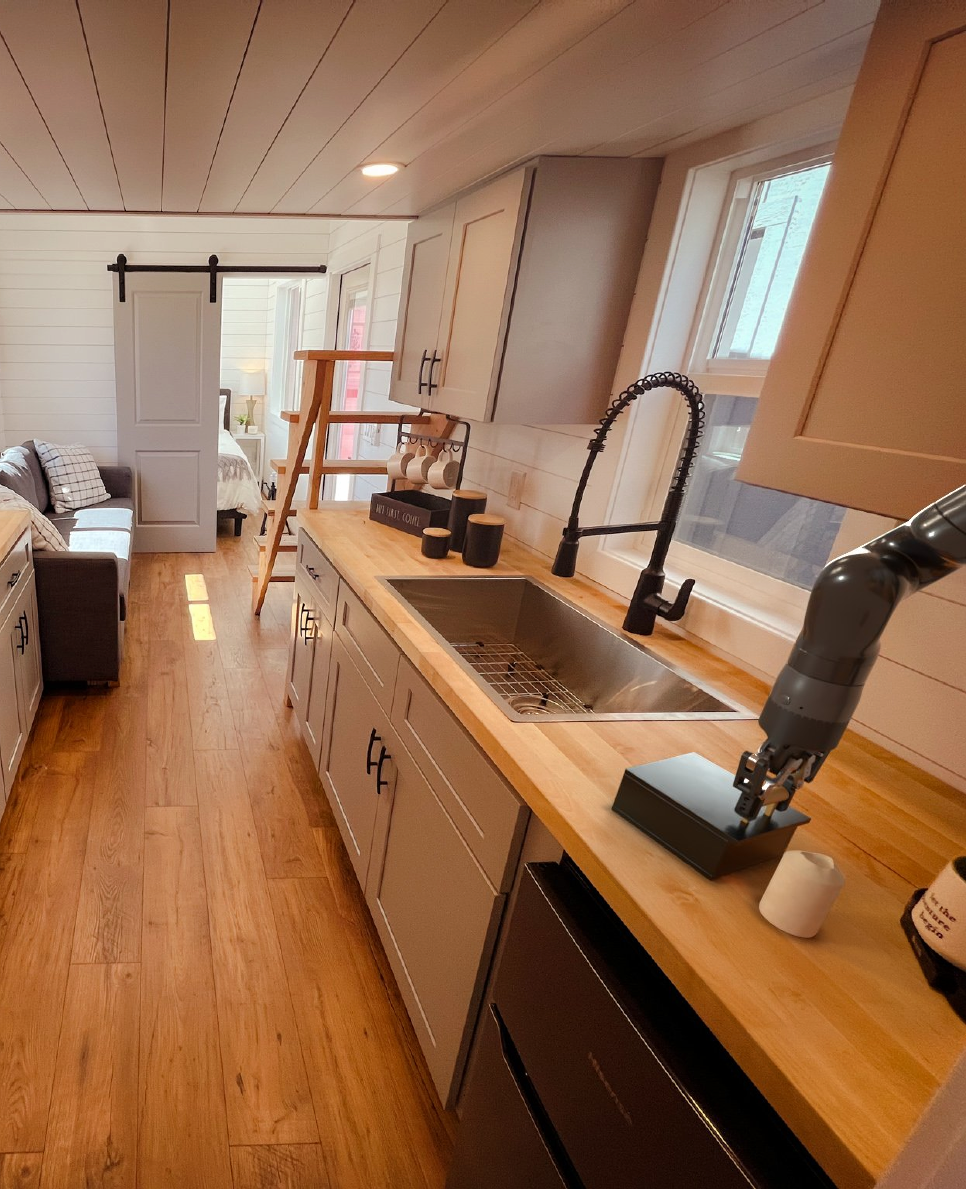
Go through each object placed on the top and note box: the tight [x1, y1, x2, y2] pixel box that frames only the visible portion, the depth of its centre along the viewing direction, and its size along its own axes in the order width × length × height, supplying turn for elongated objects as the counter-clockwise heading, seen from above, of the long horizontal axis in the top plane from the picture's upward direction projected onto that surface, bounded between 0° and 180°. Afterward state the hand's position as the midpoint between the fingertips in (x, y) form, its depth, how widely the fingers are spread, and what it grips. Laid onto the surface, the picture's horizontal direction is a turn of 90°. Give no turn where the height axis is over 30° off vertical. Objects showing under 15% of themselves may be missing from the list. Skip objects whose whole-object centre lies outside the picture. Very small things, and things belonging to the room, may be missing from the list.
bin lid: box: [623, 751, 812, 846], centre depth 90 cm, size 16×15×5 cm
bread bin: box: [610, 773, 798, 882], centre depth 93 cm, size 15×15×7 cm
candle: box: [758, 849, 847, 939], centre depth 78 cm, size 6×6×10 cm
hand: (759, 811), depth 86 cm, fingers closed on bin lid, 5 cm apart
